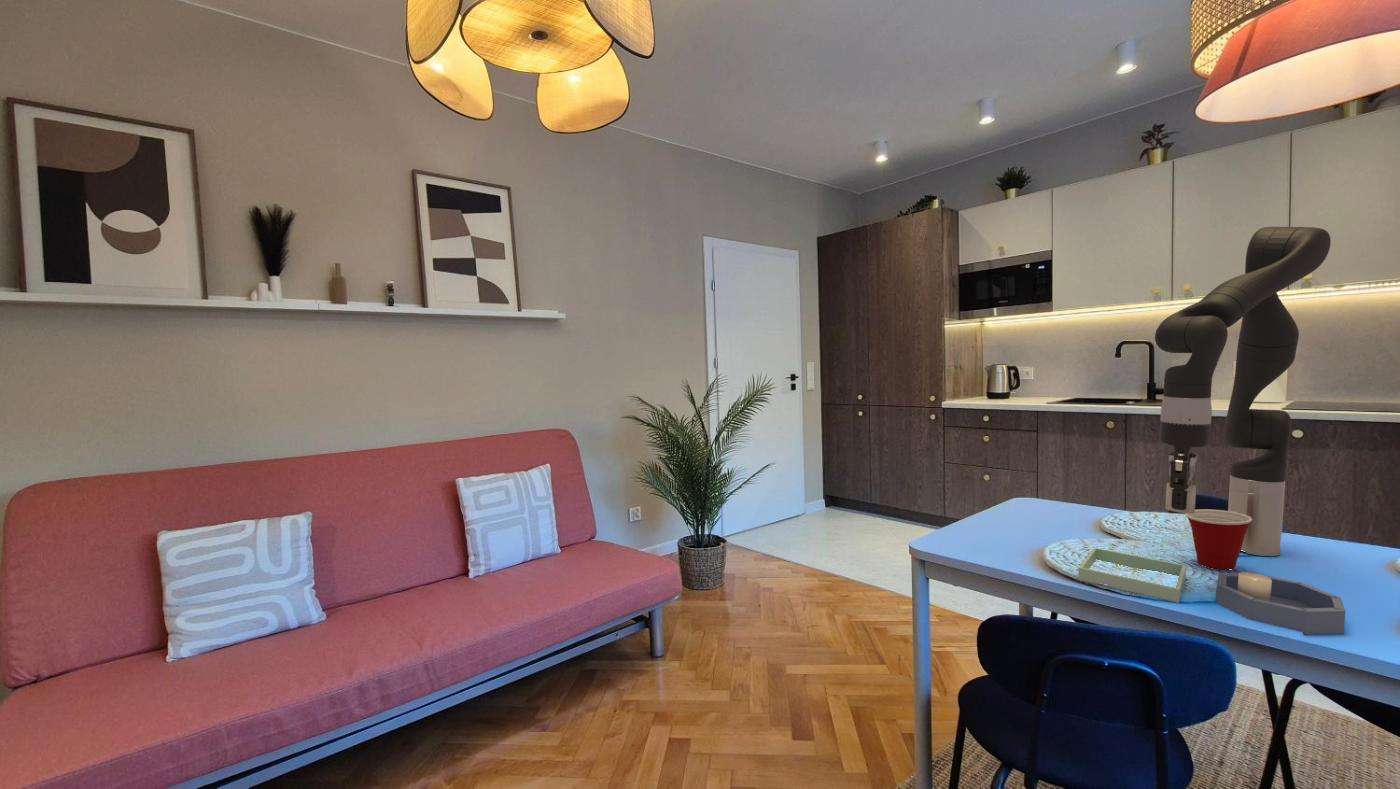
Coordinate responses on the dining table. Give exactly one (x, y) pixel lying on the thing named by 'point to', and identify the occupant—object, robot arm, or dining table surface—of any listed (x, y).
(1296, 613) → the bowl
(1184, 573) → the tray
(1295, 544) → the dining table surface
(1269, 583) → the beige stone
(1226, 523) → the plastic cup
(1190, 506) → the beige rounded piece
